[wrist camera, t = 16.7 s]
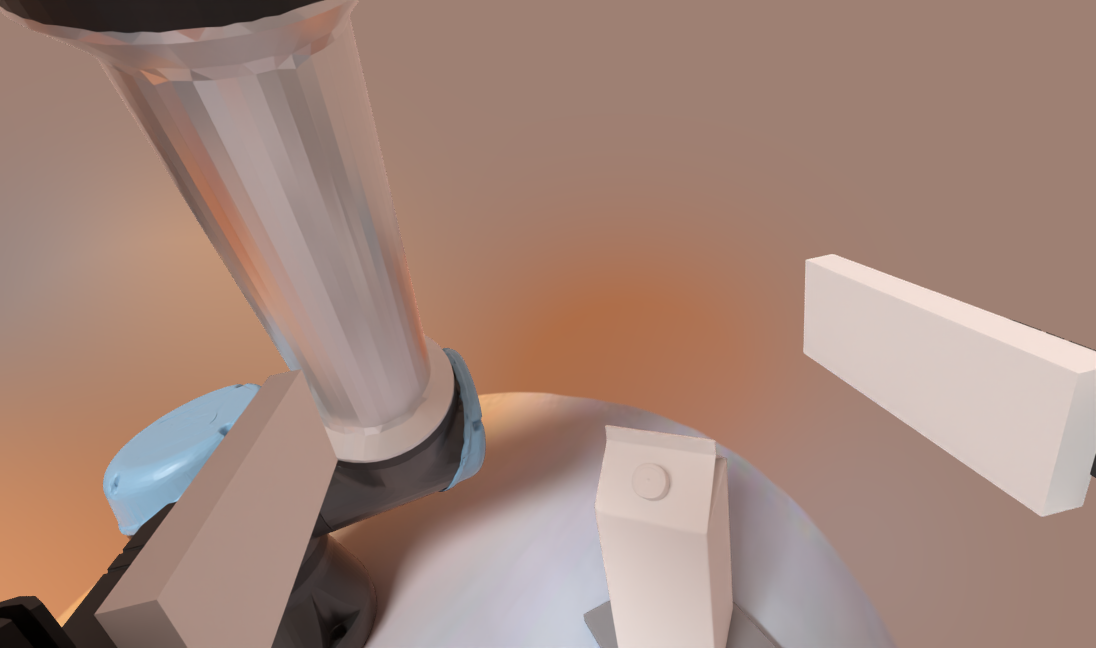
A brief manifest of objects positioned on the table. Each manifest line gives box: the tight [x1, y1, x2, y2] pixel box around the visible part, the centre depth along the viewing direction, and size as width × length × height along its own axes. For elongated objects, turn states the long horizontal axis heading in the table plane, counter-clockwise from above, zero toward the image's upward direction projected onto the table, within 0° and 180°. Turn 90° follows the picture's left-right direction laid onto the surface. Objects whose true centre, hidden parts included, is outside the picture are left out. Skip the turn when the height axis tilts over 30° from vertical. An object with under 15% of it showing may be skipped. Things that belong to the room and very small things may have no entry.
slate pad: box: [584, 601, 776, 648], centre depth 41 cm, size 11×11×1 cm
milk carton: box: [594, 425, 733, 648], centre depth 37 cm, size 7×7×19 cm
